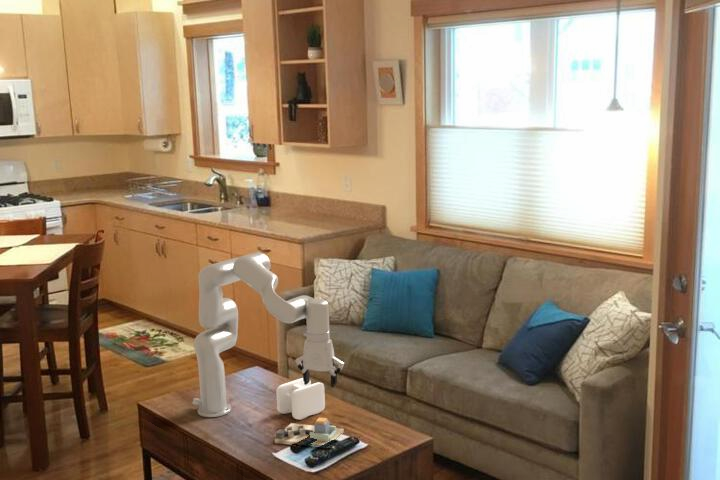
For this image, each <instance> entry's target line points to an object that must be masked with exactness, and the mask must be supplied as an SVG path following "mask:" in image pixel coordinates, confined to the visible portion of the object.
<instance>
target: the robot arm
mask: <svg viewBox="0 0 720 480" xmlns="http://www.w3.org/2000/svg"><path fill="white" fill-rule="evenodd" d="M197 281H198V289H199V294H198V295H199V297H198V321H199V325H200V326H201V327H202V328H203V329H205V330H204V331H202V332H201V333H199V334H197V335H196V337H194V338H195V339H194V341H193V349H194V352H195V356H196V361H197V368H198V369H197V370H198V378H199V379H198V380H199V382H198V383H199V392H200V398H198V397H197V398H196V397H194V398H193V399H192V406H198V408H197V409H196V410H197V414H198V415H199V416H201V417H203V418H204V417H205V418H218V417H223V416H225V415H227V414H229V413H230V412H231V411H232V405H231V404H230V403H228V401H227V388H226V386H227V385H226V376H225V375H226V372H225V365H224V362H223V359H222V358H221V356H220V353H222V352H224V351H227V350H229V349H232V348H234V346H235V345H236V343H237V341H238V330H239V329H238V328H239V308H238V305H237V303H236V302H235V301H234V300H233V299H231V298H229V297H224V293H223V292H224V291H223V289H222V287H223V286H226V285H229V284H230V285H231V284H233V283H237V282H240V281H242V282H244V283H245V284H246V285H248V286H249V287H250V288H252V289H253V290H254V291H255V292H256V293H258V294H259V295H261V299H262V303H263V305H264V307H265V309H266V310H267V312H268V313H269V314H271V316H273V317H275V318H276V319H278V321H280V322H283V324H284V323H285V324H293V323H296V322H298V321H300V320H304V319H306V331H303V333H302V334H303V336H304V337H306V339H305V340H304V343H303V344H304V345H303V355H301V356H299V357H297V358H296V359H295V360H294V362H295V364H296V365H297V368H298V369H299V370H300V371H301V374H302V378H303V381H304V384H305V385H306V384H308V383H309V382H310V381H311V379H310V377H311V376H310V371H318V372H329V373H330V374H331V376H330V387H331V388H335V386H336V385H337V384H338V374H339V373H340V372H341V371H342V369H343V368H344V365H345V362H343V361H342V360H340V359H338V358H337V357H336V356H335V350H334V349H335V348H334V344H333V340H332V339H331V338H330V312H329V311H330V309H329V303H328V301H327V300H326V299H323V298H322V299H321V298H314V297H311V296H309V295H304V294H303V295H299V296H296V297H294V298H290V299H288V300H285V299H284V298H283V297H281V296H279V295H278V294H277V293H276V289H277V287H278V284H279V278H278V276H277V274H275V273H274V272H272V271H271V260H270V258H269V257H268V256H267V255H266V254H265V253H263V252H258V251H256V252H253V253H249V254H246V255H242V256H238V257H235V258H234V257H233V258H230V259H225V260H223V261H219V262H216V263H215V262H214V263H212V264H209V265H206V266H204V267H203V268H202V269H201V270H200V271H199V273H198V280H197ZM335 364H336V365H337V368H336V367H335Z"/></svg>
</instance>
